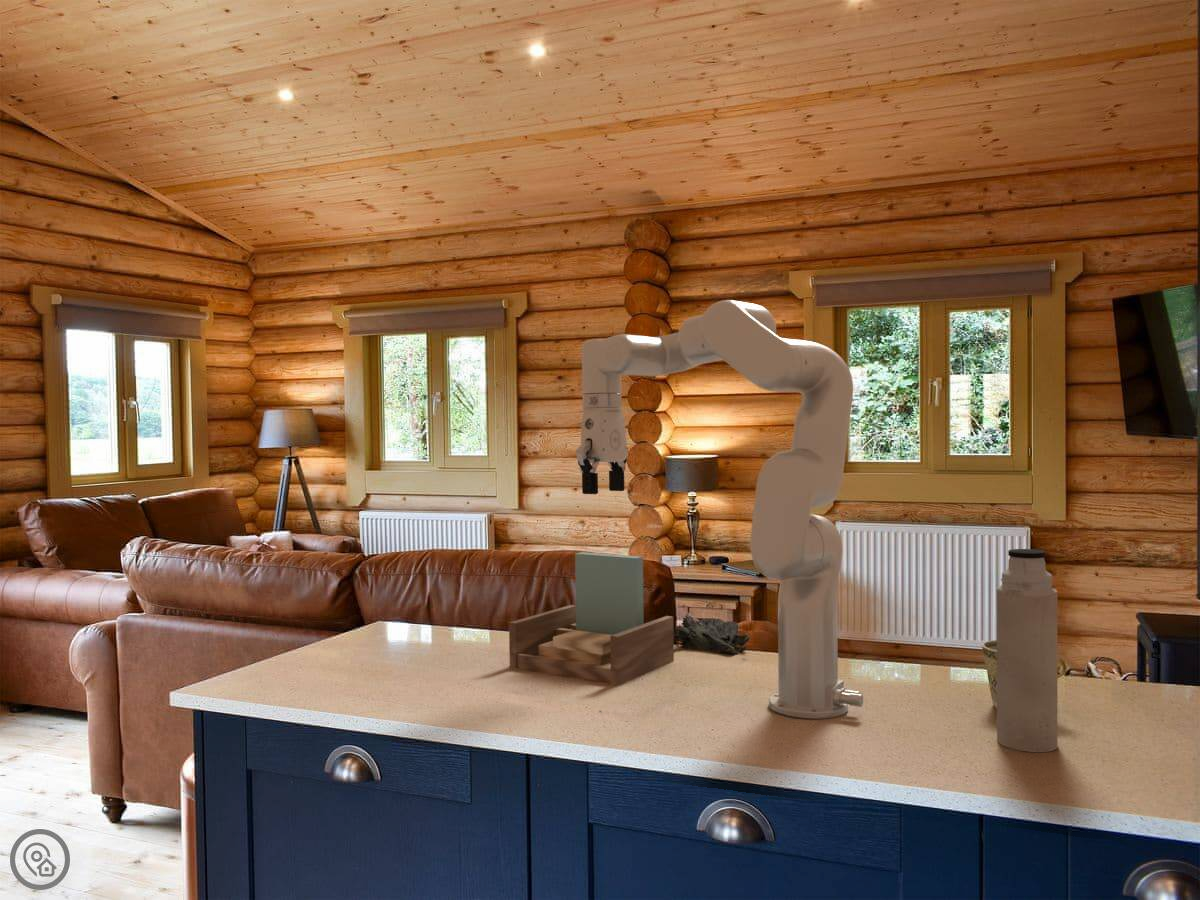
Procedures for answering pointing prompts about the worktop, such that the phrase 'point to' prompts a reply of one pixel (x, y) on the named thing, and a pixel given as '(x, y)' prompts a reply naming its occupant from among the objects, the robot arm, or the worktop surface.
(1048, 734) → the thermos bottle
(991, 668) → the ceramic cup
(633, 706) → the worktop surface
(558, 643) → the offcut stack
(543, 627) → the walnut rack
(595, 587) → the teal sheet
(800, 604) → the robot arm
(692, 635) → the mineral specimen
